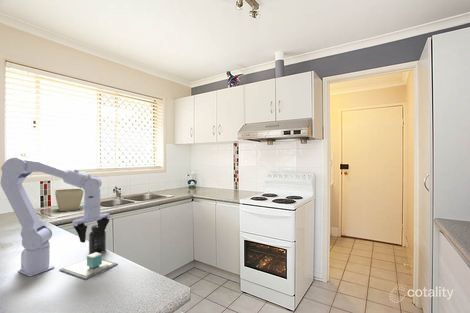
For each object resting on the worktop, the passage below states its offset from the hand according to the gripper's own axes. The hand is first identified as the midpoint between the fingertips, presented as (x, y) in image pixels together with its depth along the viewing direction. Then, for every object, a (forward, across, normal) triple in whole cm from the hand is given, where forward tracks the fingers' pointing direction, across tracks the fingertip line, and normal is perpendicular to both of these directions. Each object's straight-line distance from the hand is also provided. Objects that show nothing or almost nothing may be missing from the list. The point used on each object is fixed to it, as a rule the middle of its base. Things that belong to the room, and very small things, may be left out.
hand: (92, 239), depth 96 cm
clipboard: (+10, -3, -3) cm, 11 cm away
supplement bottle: (+10, +9, +10) cm, 17 cm away
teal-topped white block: (+9, -3, -6) cm, 11 cm away
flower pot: (+10, +57, +120) cm, 133 cm away
